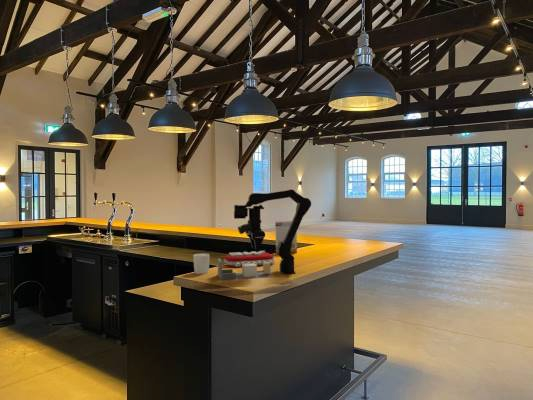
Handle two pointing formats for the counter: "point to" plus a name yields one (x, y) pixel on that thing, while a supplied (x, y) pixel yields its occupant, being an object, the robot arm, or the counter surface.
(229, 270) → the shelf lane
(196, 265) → the white cup
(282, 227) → the cracker box
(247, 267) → the rod-linked cube pair
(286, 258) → the robot arm
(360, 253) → the counter surface
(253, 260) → the word lettering
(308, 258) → the counter surface
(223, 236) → the counter surface
